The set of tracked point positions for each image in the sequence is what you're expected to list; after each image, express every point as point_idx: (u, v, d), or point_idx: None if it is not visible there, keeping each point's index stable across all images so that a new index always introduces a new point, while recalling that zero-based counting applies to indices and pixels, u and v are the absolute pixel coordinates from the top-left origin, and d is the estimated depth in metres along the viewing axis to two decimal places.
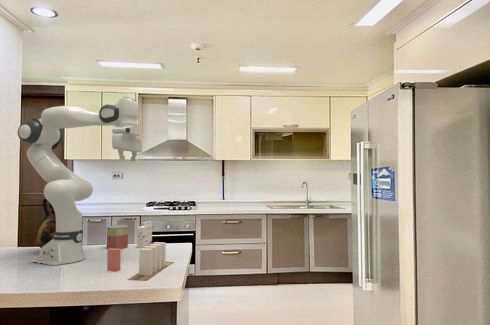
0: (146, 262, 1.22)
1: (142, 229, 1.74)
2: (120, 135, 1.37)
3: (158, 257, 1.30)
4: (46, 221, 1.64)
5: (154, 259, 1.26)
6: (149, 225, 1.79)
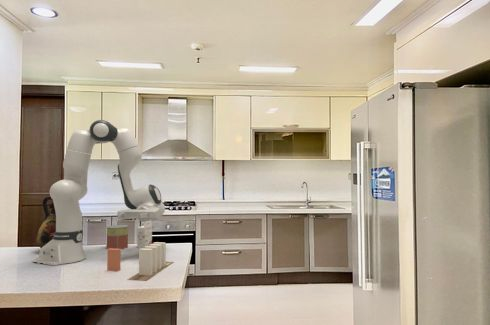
0: (146, 262, 1.22)
1: (142, 229, 1.74)
2: (159, 217, 1.50)
3: (158, 257, 1.30)
4: (46, 221, 1.64)
5: (154, 259, 1.26)
6: (149, 225, 1.79)
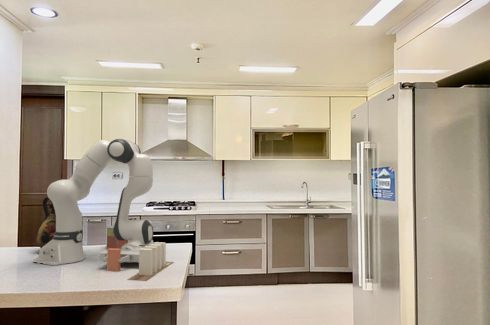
0: (146, 262, 1.22)
1: None
2: None
3: (158, 257, 1.30)
4: (46, 221, 1.64)
5: (154, 259, 1.26)
6: None
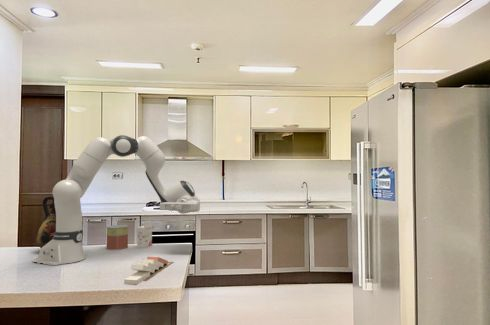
0: None
1: (142, 229, 1.74)
2: (198, 209, 1.59)
3: None
4: (46, 221, 1.64)
5: (147, 271, 1.20)
6: (149, 225, 1.79)
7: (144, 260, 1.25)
